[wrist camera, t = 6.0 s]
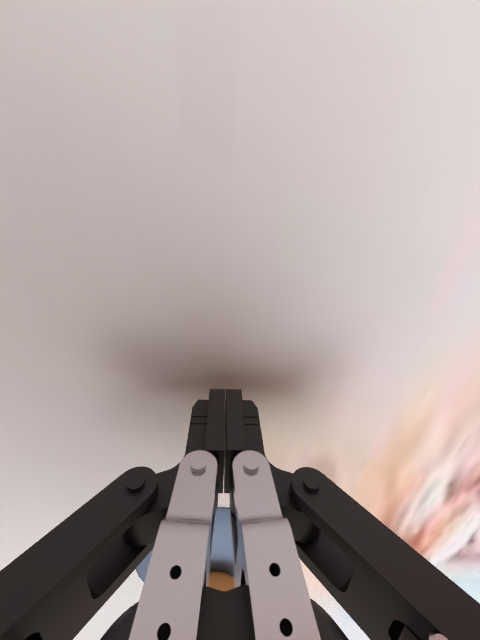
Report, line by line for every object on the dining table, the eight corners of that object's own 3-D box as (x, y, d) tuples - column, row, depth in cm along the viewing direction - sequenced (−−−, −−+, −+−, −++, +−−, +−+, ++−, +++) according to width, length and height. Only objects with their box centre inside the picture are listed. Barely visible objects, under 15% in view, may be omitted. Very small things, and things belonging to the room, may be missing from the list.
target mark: (99, 553, 20) (98, 556, 20) (238, 483, 18) (238, 486, 18) (200, 615, 24) (200, 619, 24) (322, 565, 22) (323, 568, 22)
